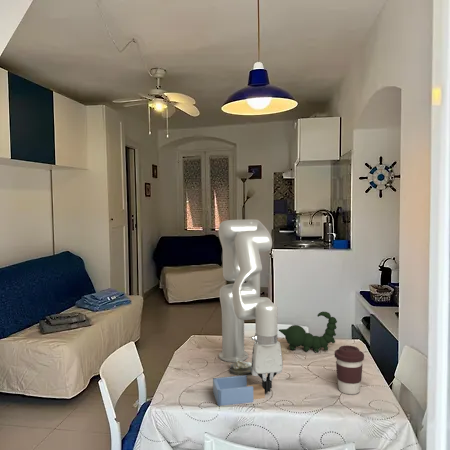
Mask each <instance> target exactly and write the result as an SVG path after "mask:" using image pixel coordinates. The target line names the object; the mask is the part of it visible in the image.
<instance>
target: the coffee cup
mask: <svg viewBox="0 0 450 450" xmlns="http://www.w3.org/2000/svg"><path fill="white" fill-rule="evenodd" d="M334 358H335V360H336V361H335V366H336V368H335V370H336V378H337V388H338V391H339V392H341V393H342V394H345V395H352V396H353V395H357V394H359V393H360V391H361V383H362V382H361V381H362V378H363V377H362V376H363V361H364V360H365V354H364V352H363V351H361V350H360V348H359V347H357V346H354V345H341V346H339V348H338V349H335V350H334Z"/></svg>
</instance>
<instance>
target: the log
mask: <svg viewBox="0 0 450 450" xmlns="http://www.w3.org/2000/svg"><path fill="white" fill-rule="evenodd" d="M229 366H230V367H229V368H228V369H229V370H228V373H229V374H231V375H233V376H243V375H246V376H253V375H252V361H251V362H250V361H244V360H243V361H239V360H237V361H236V362H232V363H230V365H229Z"/></svg>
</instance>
